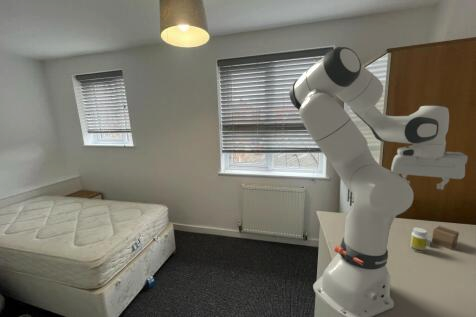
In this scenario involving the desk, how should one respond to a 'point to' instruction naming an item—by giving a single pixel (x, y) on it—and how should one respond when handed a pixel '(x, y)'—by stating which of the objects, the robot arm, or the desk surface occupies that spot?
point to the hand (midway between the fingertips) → (422, 187)
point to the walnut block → (445, 237)
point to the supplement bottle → (418, 240)
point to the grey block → (428, 241)
